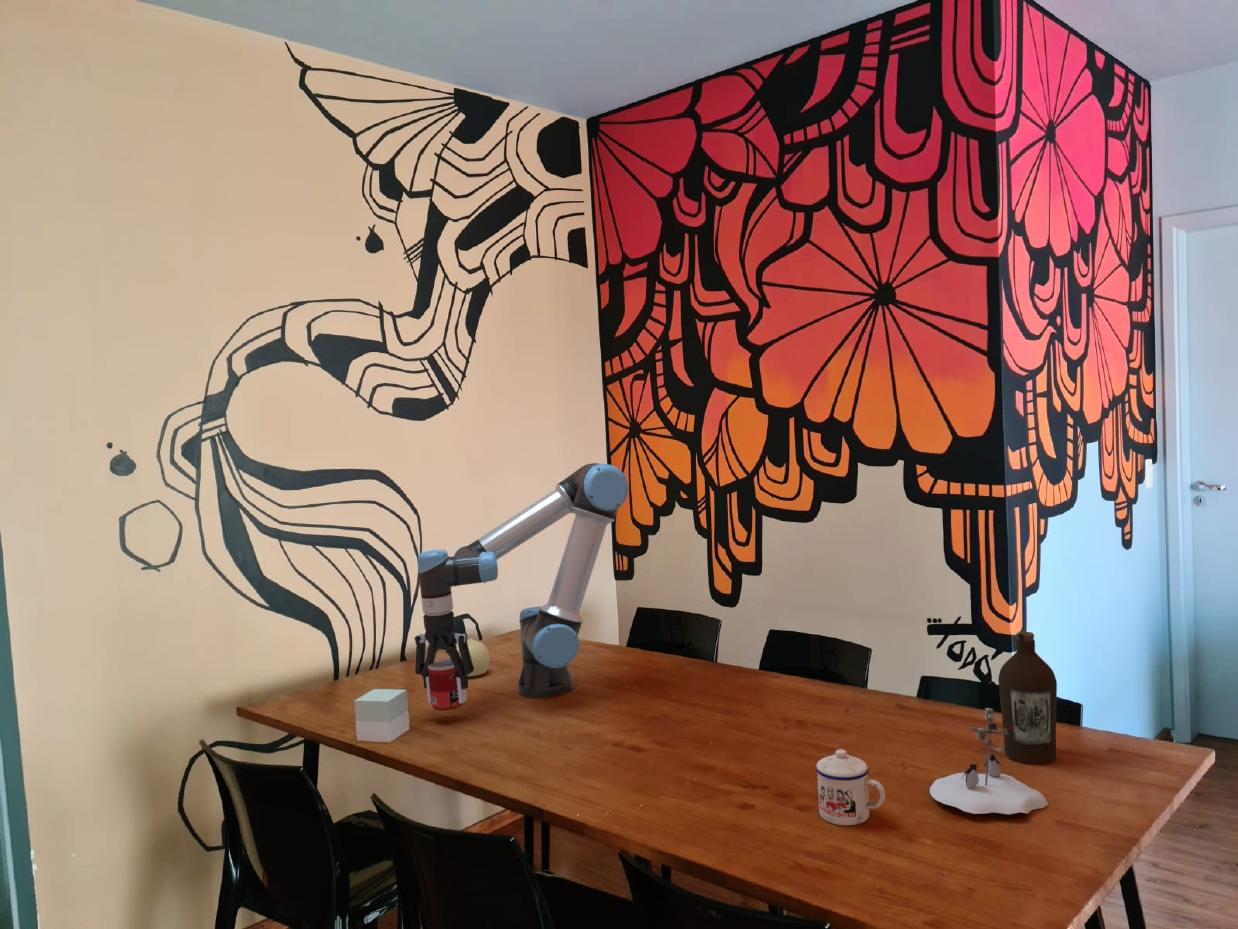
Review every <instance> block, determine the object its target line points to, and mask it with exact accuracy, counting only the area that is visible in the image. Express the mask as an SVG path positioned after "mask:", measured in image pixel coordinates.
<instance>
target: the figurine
mask: <svg viewBox="0 0 1238 929" xmlns="http://www.w3.org/2000/svg"><path fill="white" fill-rule="evenodd" d="M984 712H985V713H984V719H985V720H987V723H986V725H987V729H986V728H984V727H979V728H978V729H977V727H978V726H977V725H976V724H974V725H972V724H970V727H972V728H968V731H969V732H974V733H975V732H976V734H977V735H976V738H978V740H980V741H981V742H983V743H985V744H987V745H986V746H987V754H986V757H987V758H986V762H985V763H984V767H986V770H985V773H978V770H977V768H979V765H978V764H973V763H971V764H969V768H967V770H965V772H959V773H958V772H957V773H953V774H950V775H948V776H944V777H941V778H936V780H934V782H933V783H932V784H931V786H930V787H929V794H930V795H931V797H932V798H933V799H934V800H935V801H937V802H940V804H944V805H947V806H951V807H955V808H957V809H959V810H961V811H962V812H965V813H970V814H974V815H976V814H978V815H979V814H980V815H981V814H991V813H996V814H1003V815H1013V814H1018V813H1023V814H1029V813H1030V812H1031V811H1033V810H1039V809H1043V808H1045V807H1046V806H1048V805H1049V803H1048V802H1047V799H1046V798H1045V796H1044V795H1043V794H1042V793H1041V792H1040V791H1038V790H1037V789H1035V788H1034V789H1033V788H1031V787H1030V786H1028V785H1027V784H1025V783H1024V782H1021V781H1019V780H1018V779H1016V778H1014V777H1013V776H1011V775H1008V774H1004V773H1002V771H1001V770H1002V769H1005V768H1004V766H1003V765H1002V764H1001V762H1000V760H997V758H996V755H994V754H990V751H991V750H992V751H993V752H994V753H996V752H998V753H1003V752H1004V750H1003V749H1002V747H998V748H996V747H994V746H993V745H992V739H991V738H992V734H993V735H994V737H996V736H999V735H1000V736H1001V735H1004V734H1009V733H1008V732H1007V730H1011V729H1012V728H1013V726H1011V727H1009V728H1008V729H1007V730H1006V728H1004V729H1003V727H1001V728H1000V731H999V730H998V724H997V722H993V720H998V714H994V708H989V707H985V710H984ZM1001 730H1002V731H1001ZM987 736H988V740H986V739H987ZM1000 765H1001V767H1002V769H1001V767H1000Z"/></svg>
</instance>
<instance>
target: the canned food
mask: <svg viewBox="0 0 1238 929" xmlns="http://www.w3.org/2000/svg"><path fill="white" fill-rule="evenodd" d="M428 672H429V681H430V690H431V699H432V702H431V707H432V708H433V710H435V711H437V712H438V711H439V712H447V711H453V710H456V709H460V707H462V706H463V705H464V702H463V703H459V697H458V687H457V677H458V676H459V674H458V672H457V670H456V668H455V665H454V664H453V662H452V660H451V659H449V658H447V659H439V660H436V661H435V660H434V662H433V663H432V664H430V665H428Z"/></svg>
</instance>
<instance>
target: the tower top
mask: <svg viewBox="0 0 1238 929" xmlns="http://www.w3.org/2000/svg"><path fill="white" fill-rule="evenodd" d="M408 703H409V702H408V690H407V689H396V688H395V689H393V688H392V689H389V688H386V689H385V688H374V689H372V690H370V691H368V692H366V693H365V694H363V695H362V696H360V697H358V698H357V699H355V700H354V701H353V704H354V712H355V715H354V716H355V722H356V721H368V722H390V721H392V720H393V719H395V718H396V717H398V716H399V715H401V714H402V713H404V712H405V711H407V710H408V711H409V704H408Z"/></svg>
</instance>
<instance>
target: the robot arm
mask: <svg viewBox="0 0 1238 929" xmlns="http://www.w3.org/2000/svg"><path fill="white" fill-rule="evenodd" d="M629 489H630V488H629V482H628V479H627V477H626V476H625V473H623V471H622V470H620V469H619V468H617V467H616V466H614V465H612V464H608V463H607V464H606V463H596V462H595V463H594V462H593V463H587V464H585V465H583V466H581V467H579V468H578V469H577V470H575V471H574V472H572V473H571V474H570V475H568V476H567V477H565V478H564V479H563V480H561V481H560V482H558V483H557V484H556V485H555V489H554V490H553V491H551V492H549V493H548V494H546V495H545V496H543V497H541V498H540V499H539V500H537V501H535V502H534V503H532V504H531V505H529V506H527V507H526V508H524V509H523V510H521V511H520V512H518V513H517V514H515V515H513V516H512V517H510V518H509V519H507V520H506V521H504V522H502V523H501V524H499V525H497V526H496V527H494V528H493V529H492V530H490V531H488V532H487V533H485V534H484V535H483V536H481V537H479V538H478V539H476V540H474V541H473V542H471V543H470V544H468V545H464V546H461V547H459V548H458V549H457V550H456V551H455V552H454V555H453V556H449V554H448V551H447V550H445V549H433V550H425V551H423V552H420V553H419V555H418V557H417V574H418V579H419V580H418V581H419V588H420V596H421V605H422V606H421V608H422V613H423V614H424V615H423V616H422V617H423V618H422V619H423V625H424V630H425V631H424V634H423V633H420V634H418V635H416V636H415V637H414V642H415V645H416V649H415V667H414V668H415V669H414V670H415V672H414V673H415V674H416V675H420V676H421V677H422V680H423V687H424V689H425V690H426V691H427V692H426V693H427V702H428V703H430V704H432V699H431V690H430V681H429V672H428V665H430V664H432V663H433V662H435V659H436V656H437V652H438V651H439V650H443V651H445V652H446V653H445V654H448V655H449V656H450V658H451V660H452V662H453V664H454V665H455V668H456V670H457V672H458V674H459V676H458V677H457V687H458V697H459V703H463V704H464V702H466V701H467V700H468V696H467V688H468V687H469V678H468V677H467V675H468V674H470V673H471V672H473V671H474V667H473V663H472V660H471V656H470V652H469V648H468V644H467V639H468V633H465V632H464V633H458V632H457V631H456V629H455V627H456V626H455V625H456V622H455V614H454V611H453V609H454V603H453V596H452V595H453V593H452V587H458V586H465V585H475V584H481V583H483V584H486V583H489V582H493V581H496V580H497V579H498V576H499V570H498V569H499V568H498V560H499V559H500V558H502V557H504V556H505V555H506V554H508V553H510V552H511V551H513V550H515V549H516V548H518V547H520V545H522V544H524V543H526V542H527V541H528V540H530V539H532V538H533V537H535V536H536V535H538V534H539V533H540V532H543V531H544V530H545V529H547V528H548V527H550V526H552V525H553V524H555V523H557V522H558V521H559V520H561V519H563V518H564V517H565V516H567V515H569V514H574V515H575V518H574V519H573V523H572V526H571V530H570V532H569V536H568V539H567V541H566V545H565V547H564V548H565V549H564V551H563V555H562V557H561V560H560V563H559V567H558V570H557V573H556V576H555V580H554V582H553V585H552V588H551V591H550V594H549V598H548V601H547V603H545V604H543V605H542V606H541V605H539V606H534V607H533V606H532V607H527V608H524V609H522V610H521V611H520V613H519V625H520V638H521V640H520V641H521V654H522V667H521V671H520V675H519V679H518V682H517V686H518V687H517V688H518V689H517V690H518V693H519V695H520V696H523V697H525V698H532V699H534V698H536V699H537V698H538V699H540V698H541V699H543V698H545V699H546V698H552V697H557V696H562V695H565V694H566V693H569V692H571V691H572V690H573V689H574V678H573V676H572V673H571V671H570V669H569V666H568V665H569V664H571V663H572V662H573V660H574V659H575V658H576V656H578V655H577V654H578V653H579V649H580V638H579V632H580V630H581V627H582V623H583V619H582V616H581V614H580V611H581V608H582V605H583V601H584V598H585V595H586V592H587V588H588V585H589V583H590V579H591V576H592V572H593V569H594V567H595V563H596V560H597V558H598V555H599V551H600V548H601V546H602V542H603V539H604V535H605V532H606V529H607V526H608V525H609V524H611V523H613V522H614V521H615V520H616V517H617V513H618V510H619V508H621V507H622V505H623V504H624V503H625V502H626V500H627V498H628V495H629V491H630V490H629ZM455 640H456V643H455ZM426 641H427V642H428V647H427V654H426ZM457 643H458V647H459V651H460V654H461V657H460V655H459V653H458V651H457V646H456V644H457ZM461 658H462V659H461Z"/></svg>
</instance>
